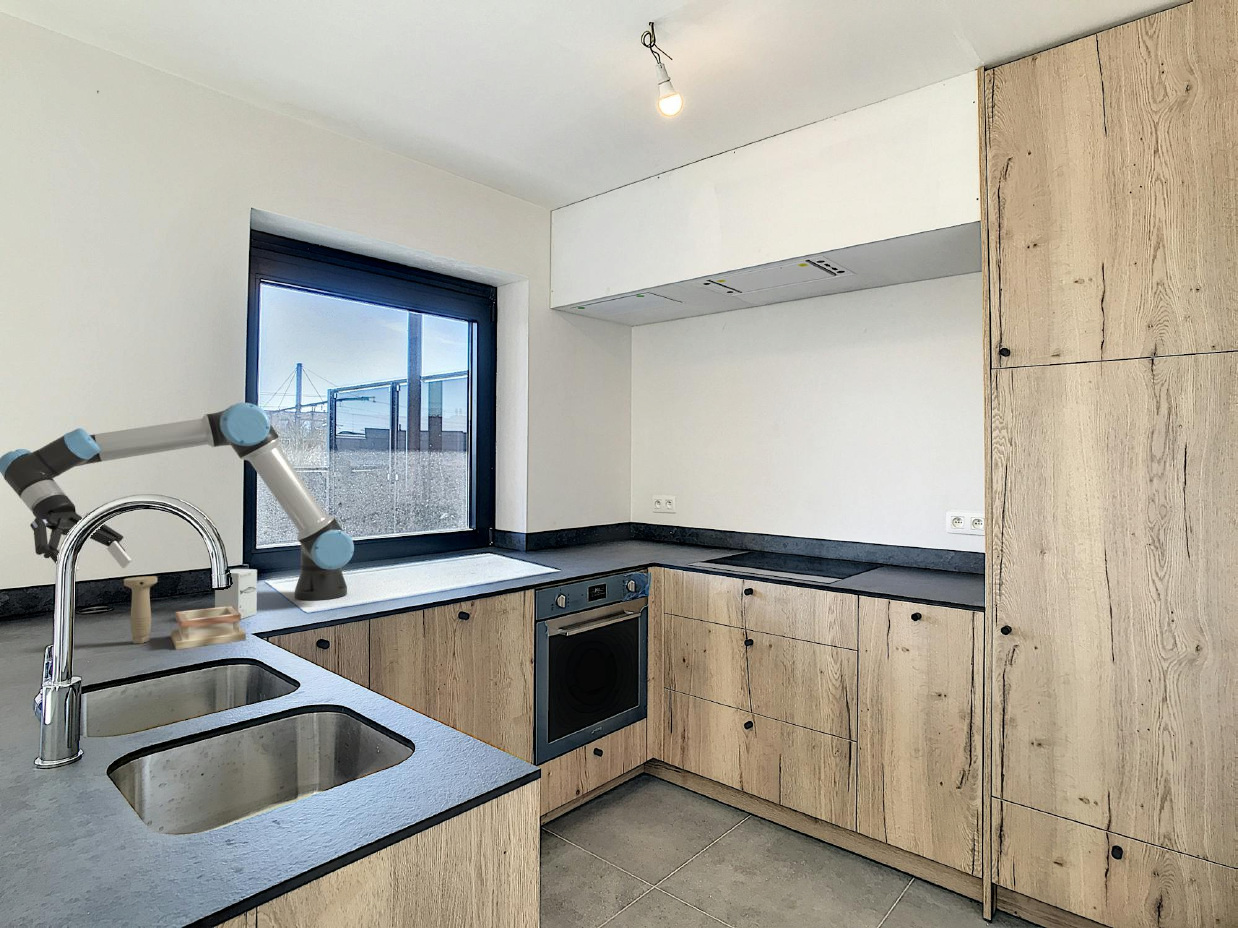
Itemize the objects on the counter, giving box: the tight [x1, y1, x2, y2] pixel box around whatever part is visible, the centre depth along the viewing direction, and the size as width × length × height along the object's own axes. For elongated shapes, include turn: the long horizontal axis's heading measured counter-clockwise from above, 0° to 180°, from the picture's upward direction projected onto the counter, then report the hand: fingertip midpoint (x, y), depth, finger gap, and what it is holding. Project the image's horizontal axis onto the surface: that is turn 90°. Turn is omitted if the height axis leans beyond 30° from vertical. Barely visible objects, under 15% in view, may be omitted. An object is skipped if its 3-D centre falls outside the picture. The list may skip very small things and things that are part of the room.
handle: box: [123, 575, 158, 645], centre depth 162 cm, size 5×6×15 cm
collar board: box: [170, 606, 247, 650], centre depth 166 cm, size 14×14×6 cm
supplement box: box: [214, 568, 258, 620], centre depth 188 cm, size 7×7×13 cm
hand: (101, 568), depth 164 cm, fingers open, 13 cm apart
